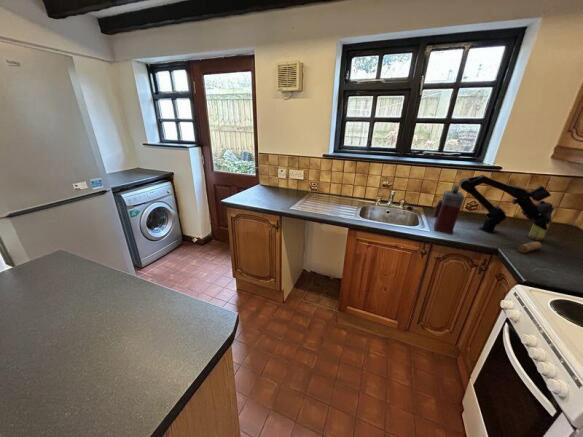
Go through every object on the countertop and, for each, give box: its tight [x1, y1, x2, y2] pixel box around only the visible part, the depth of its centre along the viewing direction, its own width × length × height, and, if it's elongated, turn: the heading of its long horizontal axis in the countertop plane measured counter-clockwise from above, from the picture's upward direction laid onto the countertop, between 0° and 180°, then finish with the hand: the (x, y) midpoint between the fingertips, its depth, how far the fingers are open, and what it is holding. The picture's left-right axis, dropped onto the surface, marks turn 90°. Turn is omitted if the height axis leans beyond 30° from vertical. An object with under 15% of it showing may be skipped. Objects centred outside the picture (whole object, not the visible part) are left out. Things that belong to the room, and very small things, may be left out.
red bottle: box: [433, 184, 465, 235], centre depth 142 cm, size 9×11×28 cm
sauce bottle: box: [527, 206, 556, 242], centre depth 136 cm, size 7×6×20 cm
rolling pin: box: [517, 241, 542, 254], centre depth 127 cm, size 16×4×4 cm, turn 111°
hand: (543, 227), depth 137 cm, fingers closed on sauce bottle, 6 cm apart
